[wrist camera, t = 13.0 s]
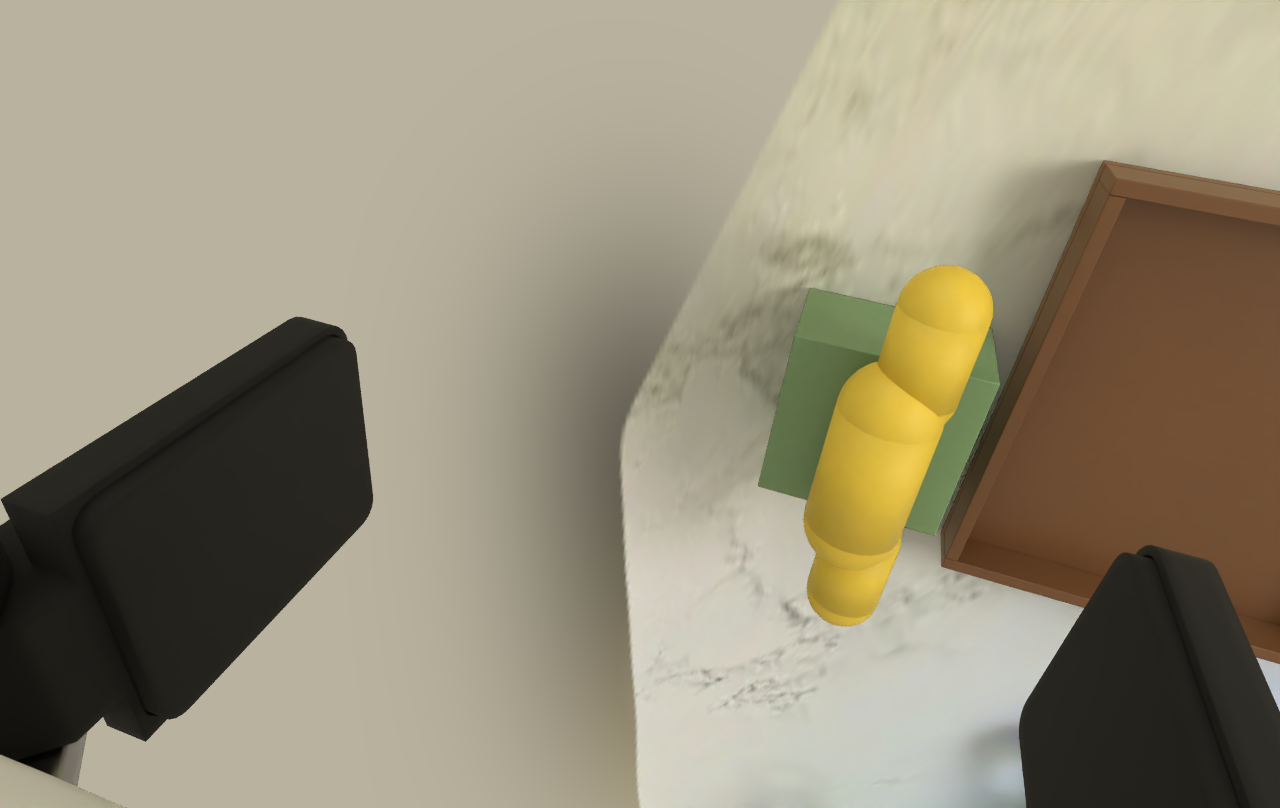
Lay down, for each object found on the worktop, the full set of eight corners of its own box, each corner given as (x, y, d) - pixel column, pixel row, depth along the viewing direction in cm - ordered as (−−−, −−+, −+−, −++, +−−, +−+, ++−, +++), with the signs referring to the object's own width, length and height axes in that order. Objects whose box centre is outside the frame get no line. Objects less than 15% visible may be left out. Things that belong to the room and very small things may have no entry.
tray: (1103, 159, 29) (1116, 178, 27) (1655, 257, 26) (1719, 287, 24) (940, 532, 40) (941, 566, 38) (1314, 637, 36) (1338, 681, 34)
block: (810, 287, 35) (794, 335, 31) (992, 328, 34) (1000, 384, 30) (775, 428, 40) (757, 486, 36) (934, 471, 38) (935, 536, 34)
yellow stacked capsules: (874, 238, 28) (885, 284, 25) (995, 258, 28) (1023, 306, 24) (776, 576, 38) (775, 641, 34) (865, 593, 37) (873, 660, 34)
